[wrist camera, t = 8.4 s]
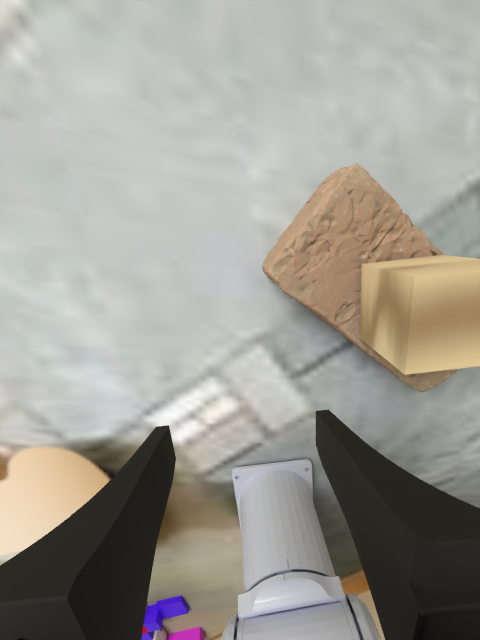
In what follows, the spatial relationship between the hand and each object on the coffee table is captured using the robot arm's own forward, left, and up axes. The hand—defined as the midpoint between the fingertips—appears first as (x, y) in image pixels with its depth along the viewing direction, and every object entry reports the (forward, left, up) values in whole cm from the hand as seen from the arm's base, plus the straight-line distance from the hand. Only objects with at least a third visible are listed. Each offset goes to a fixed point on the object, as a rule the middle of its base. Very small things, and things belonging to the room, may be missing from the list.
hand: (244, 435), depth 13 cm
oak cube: (+4, -11, -6) cm, 13 cm away
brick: (+4, -11, -11) cm, 16 cm away
